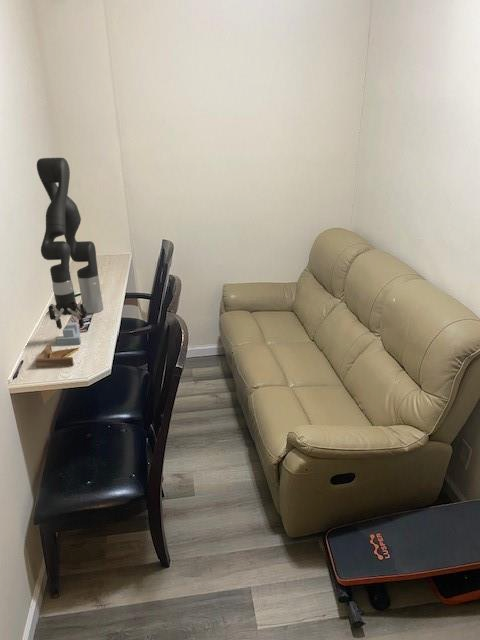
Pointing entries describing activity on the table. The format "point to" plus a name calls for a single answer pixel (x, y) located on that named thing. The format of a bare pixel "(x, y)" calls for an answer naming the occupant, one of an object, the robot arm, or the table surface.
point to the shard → (63, 353)
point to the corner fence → (52, 359)
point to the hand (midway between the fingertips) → (70, 327)
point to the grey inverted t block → (70, 335)
